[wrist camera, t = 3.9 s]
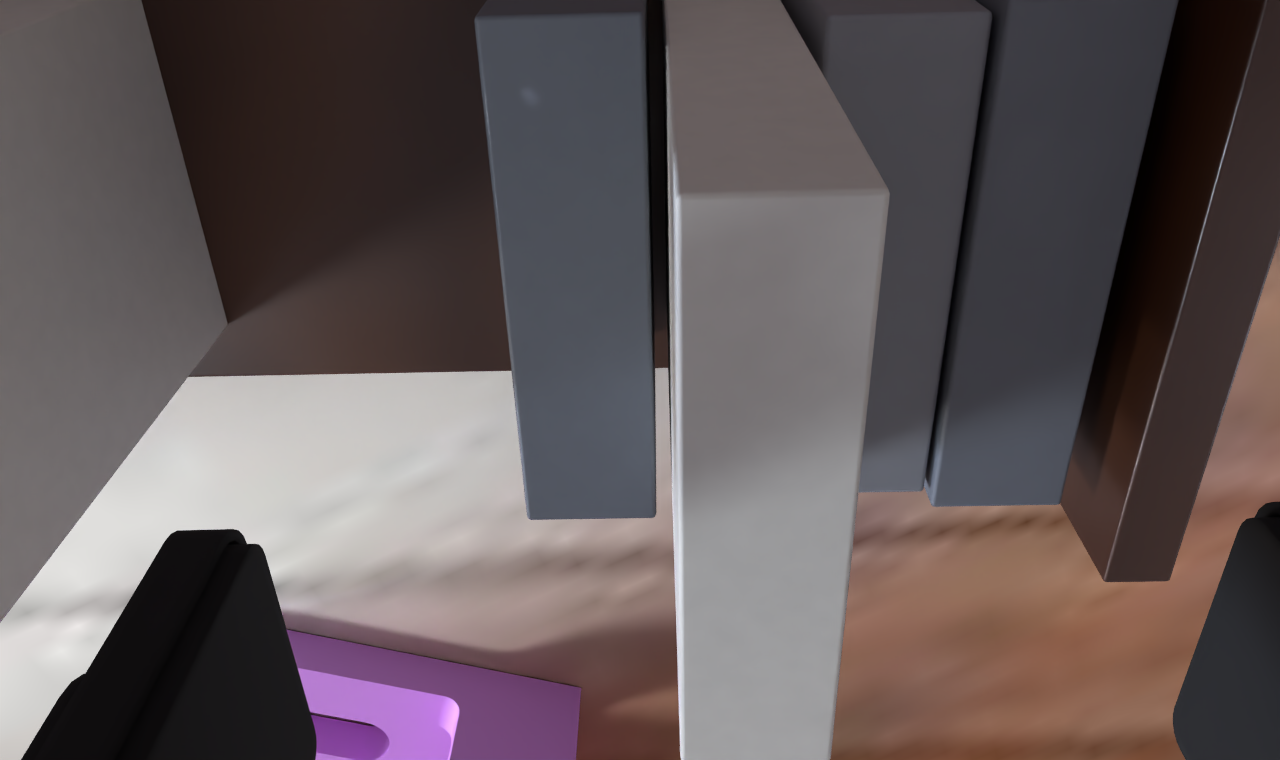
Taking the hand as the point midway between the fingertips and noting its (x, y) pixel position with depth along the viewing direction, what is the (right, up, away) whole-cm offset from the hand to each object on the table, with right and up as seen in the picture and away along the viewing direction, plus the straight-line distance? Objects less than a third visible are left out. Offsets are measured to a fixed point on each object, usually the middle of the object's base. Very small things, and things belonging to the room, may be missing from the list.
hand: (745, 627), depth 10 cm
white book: (+1, +7, +13) cm, 15 cm away
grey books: (+3, +8, +13) cm, 15 cm away
